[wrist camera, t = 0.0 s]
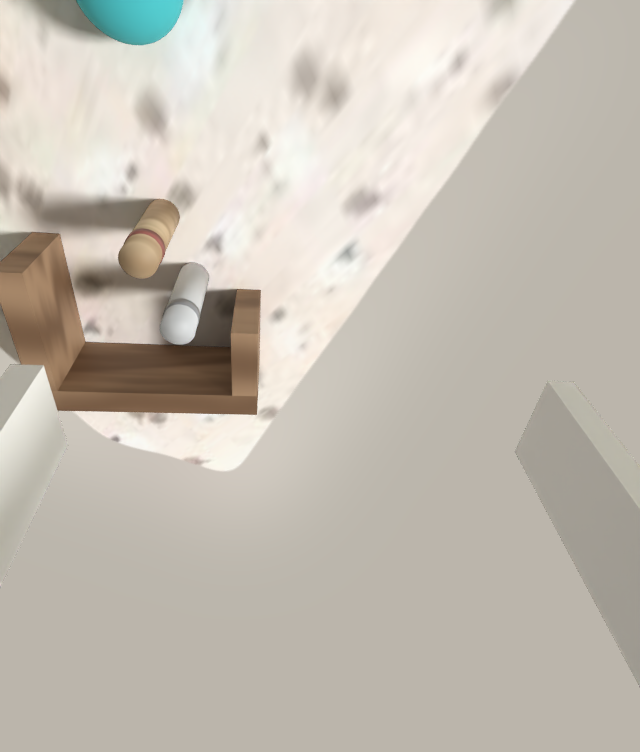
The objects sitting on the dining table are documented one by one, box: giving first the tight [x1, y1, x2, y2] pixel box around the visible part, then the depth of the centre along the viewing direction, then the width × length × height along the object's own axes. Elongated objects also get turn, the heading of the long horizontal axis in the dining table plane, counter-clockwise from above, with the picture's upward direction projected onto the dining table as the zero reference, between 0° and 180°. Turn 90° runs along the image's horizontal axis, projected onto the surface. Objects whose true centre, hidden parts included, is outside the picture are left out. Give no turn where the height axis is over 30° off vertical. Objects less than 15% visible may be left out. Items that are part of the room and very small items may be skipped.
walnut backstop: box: [0, 232, 261, 415], centre depth 39 cm, size 12×18×7 cm
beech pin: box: [118, 199, 180, 279], centre depth 34 cm, size 2×2×8 cm
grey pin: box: [160, 263, 209, 345], centre depth 37 cm, size 2×2×8 cm
